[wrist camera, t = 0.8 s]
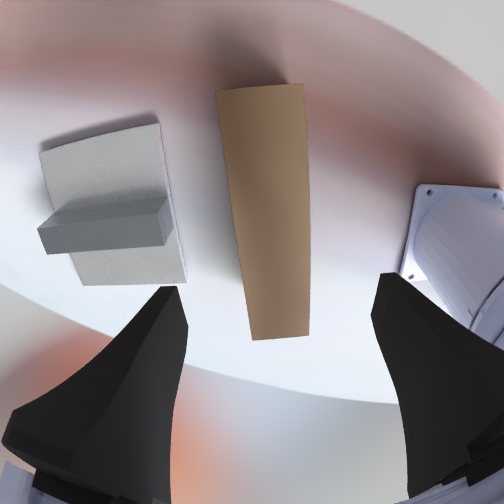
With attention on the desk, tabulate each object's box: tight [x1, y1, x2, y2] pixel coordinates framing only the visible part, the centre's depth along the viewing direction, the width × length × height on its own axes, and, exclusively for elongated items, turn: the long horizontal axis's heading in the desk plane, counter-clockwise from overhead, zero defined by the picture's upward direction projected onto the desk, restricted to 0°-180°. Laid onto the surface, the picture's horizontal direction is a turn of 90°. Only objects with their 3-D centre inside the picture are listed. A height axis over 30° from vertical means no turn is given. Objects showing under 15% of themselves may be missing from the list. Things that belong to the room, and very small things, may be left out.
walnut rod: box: [215, 84, 310, 340], centre depth 16 cm, size 4×14×5 cm, turn 6°
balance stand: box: [37, 123, 188, 286], centre depth 17 cm, size 9×11×3 cm
